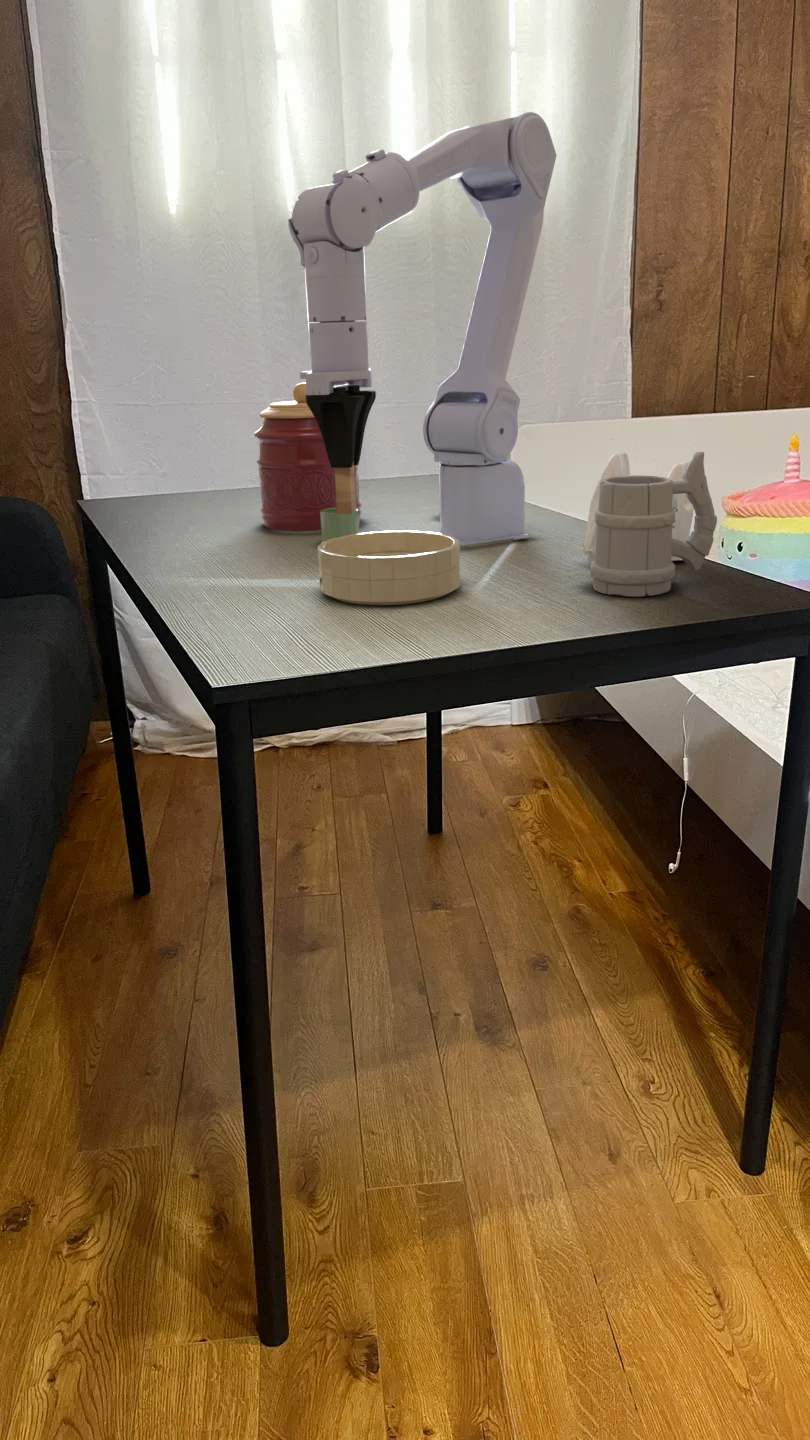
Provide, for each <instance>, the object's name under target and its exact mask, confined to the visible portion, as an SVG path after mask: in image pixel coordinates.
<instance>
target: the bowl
mask: <svg viewBox="0 0 810 1440" xmlns="http://www.w3.org/2000/svg"><path fill="white" fill-rule="evenodd" d="M317 560H318V575H319V576H318V578H319V589H320V591H321V592H322V593H323V594H324V595H327V596H329V597H331V598H334V599H336V600H338V601H341V602H345V603H348V604H349V603H350V604H354V605H355V604H356V605H363V606H364V605H365V606H398V605H401V606H402V605H411V604H418V603H423V602H428V601H432V600H436V599H439V598H442V597H444V596H446V595H448V594H449V593H453V591H455V590H457V589H459V588H460V586H461V582H462V581H461V578H462V577H461V575H462V573H461V546H460V540H458V539H457V538H455V537H454V536H450V535H446V534H442V533H440V532H434V531H423V530H421V531H420V530H382V531H381V530H379V531H369V532H368V531H367V532H359V534H351V535H345V536H341V537H336V538H332V539H329V540H327V541H324V542H322V541H321V542H320V543H319V544H318V546H317Z"/></svg>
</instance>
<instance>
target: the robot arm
mask: <svg viewBox="0 0 810 1440" xmlns="http://www.w3.org/2000/svg"><path fill="white" fill-rule="evenodd" d="M365 160H366V162H365V163H364V164H362V165H360V166H357V167H356V168H354V169H352V170H350V171H349V169H339V170H338V171H336V172H334V173H333V175H332V179H333V180H332V181H331V182H330V184H323V185H319V186H313V187H310V188H306V189H305V190H303V191H302V192H301V193H300V194H299V195H298V197H297V198H298V199H297V200H296V201H295V203H294V206H293V209H292V212H291V214H292V215H291V217H290V218H288V219H287V224H288V229H289V233H290V237H291V238H292V240H293V242H294V244H295V245H296V247H297V249H298V252H299V256H300V266H301V267H303V271H304V276H305V277H304V278H305V293H306V294H305V295H306V310H307V325H308V326H307V328H308V341H309V356H310V370H304V371H299V379H300V380H305V383H306V391H307V395H306V403H307V405H308V407H309V408H310V410H311V412H312V413H313V415H314V417H315V419H316V421H317V424H318V426H319V429H320V431H321V434H322V438H323V441H324V445H325V448H326V452H327V456H328V459H329V462H330V465H331V468H351V467H352V465H353V461H354V465H358V466H359V464H360V459H361V456H362V455H361V454H362V449H363V442H364V435H365V429H366V425H367V422H368V418H369V415H370V412H371V410H372V407H373V405H374V403H375V401H376V398H377V392H376V390H360V389H362V388H363V389H364V388H372V386H373V385H372V383H373V382H372V368H371V367H370V361H369V358H370V357H369V334H368V333H369V332H368V314H367V313H368V312H367V291H366V290H367V289H366V287H367V286H366V265H365V264H366V263H365V248H367V247H369V246H370V244H371V243H372V242H373V240H374V238H375V236H376V233H377V232H378V231H381V230H383V229H384V228H386V227H388V226H389V225H391V224H392V223H395V222H397V221H398V220H400V219H401V218H403V217H406V216H407V215H409V214H411V213H412V212H413V211H414V210H415V208H417V205H418V203H419V200H420V194H421V192H423V191H425V190H427V189H429V188H431V187H433V186H435V185H437V184H439V183H442V182H444V181H445V180H448V179H452V180H453V179H455V180H456V181H457V183H458V184H459V186H460V187H461V190H462V191H463V193H464V194H465V195H466V197H467V199H468V200H469V201H470V203H471V204H472V207H473V208H474V209H475V211H476V212H477V214H478V216H479V217H480V218H482V219H483V220H486V221H487V222H488V224H489V227H490V233H489V236H488V240H487V244H486V249H485V254H484V257H483V261H482V265H481V270H480V275H479V278H478V283H477V287H476V291H475V294H474V295H475V296H474V299H473V304H472V307H471V312H470V316H469V320H468V325H467V329H466V333H465V338H464V341H463V346H462V351H461V354H460V359H459V362H458V367H457V369H456V370H455V371H454V372H453V373H452V374H451V375H450V376H448V377H447V378H446V379H445V380H444V381H442V382H441V383H440V384H439V385H438V387H437V391H436V395H435V398H434V401H433V402H432V404H431V405H430V406H429V408H428V409H427V411H426V413H425V415H424V419H423V425H422V431H423V432H422V434H423V439H424V443H425V445H426V447H427V450H429V451H430V452H431V453H432V454H433V459H434V461H433V462H434V463H438V481H439V482H438V484H439V485H438V486H439V527H440V528H439V529H440V530H439V531H440V532H439V533H442V534H446V535H450V536H454V537H455V538H457V539H458V540H460V547H461V546H462V547H463V546H472V545H479V544H484V543H491V542H498V541H504V540H511V539H512V541H519V540H524V539H529V534H528V533H525V510H526V509H525V508H526V507H525V497H526V495H525V493H526V492H525V491H526V490H525V487H526V486H525V479H524V474H523V472H522V469H521V467H520V466H519V464H518V463H516V461H513V460H511V459H508V456H509V455H510V454H511V453H512V452H513V449H514V448H515V446H516V443H517V439H518V434H519V425H518V424H519V423H518V422H519V421H518V414H519V407H520V403H521V398H520V396H519V395H518V394H517V392H516V391H515V390H514V388H513V387H512V386H511V384H510V383H509V382H508V380H506V379H507V375H508V369H509V366H510V361H511V357H512V353H513V349H514V345H515V341H516V337H517V332H518V328H519V324H520V321H521V317H522V312H523V309H524V303H525V300H526V295H527V292H528V287H529V283H530V279H531V274H532V272H533V271H532V270H533V268H534V267H533V266H534V263H535V258H536V255H537V251H538V245H539V242H540V237H541V233H542V230H543V225H544V213H545V212H544V211H545V206H546V201H547V199H548V193H549V189H550V184H551V182H552V176H553V173H554V169H555V164H556V161H557V151H556V149H555V146H554V143H553V139H552V136H551V133H550V130H549V127H548V125H547V123H546V122H545V119H543V117H542V116H541V115H539V114H538V113H536V112H533V111H528V112H523V113H522V114H520V115H518V116H515V117H508V118H504V119H499V120H495V121H491V122H486V123H481V124H480V123H479V124H477V125H476V124H475V125H466V126H463V127H462V128H458V129H454V130H450V131H448V132H446V133H445V134H443V135H441V136H439V137H438V138H437V139H435V140H433V141H432V142H429V143H428V144H427V145H425V146H422V148H420V149H418V150H416V151H415V152H413V153H411V154H410V155H408V156H407V157H404V156H403V155H402V154H400V153H398V152H385V150H384V149H377V150H373V151H371V152H369V153H367V154H366V155H365Z"/></svg>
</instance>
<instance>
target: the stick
mask: <svg viewBox="0 0 810 1440" xmlns="http://www.w3.org/2000/svg"><path fill="white" fill-rule="evenodd" d="M335 484H336V502H337V514H352V513H354V512H356V497H355V476H354V461H353V465H352V467H351V468H335Z"/></svg>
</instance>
